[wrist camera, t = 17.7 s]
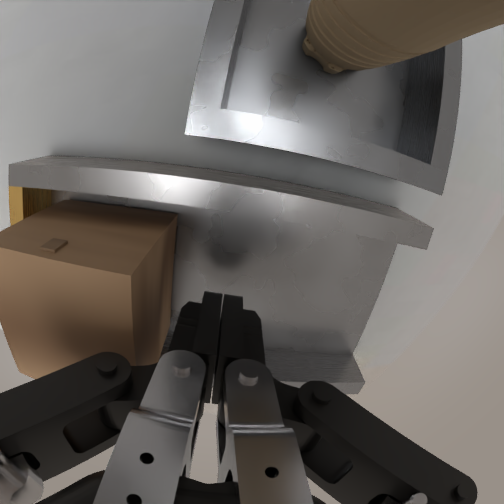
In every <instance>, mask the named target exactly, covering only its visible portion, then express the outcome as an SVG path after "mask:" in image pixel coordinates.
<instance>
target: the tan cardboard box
mask: <svg viewBox="0 0 504 504" xmlns="http://www.w3.org/2000/svg"><path fill="white" fill-rule="evenodd" d="M177 217H178V214H174V213H167V212H160V211H152V210H145V209H138V208H130V207H123V206H115V205H107V204H99V203H91V202H83V201H74V200H63V201H60V202H58V203H56V204H54V205H52V206H50V207H47V208H45V209H43V210H41V211H39V212H37V213H35V214H33V215H31V216H29V217H27V218H25V219H23V220H21V221H19V222H17V223H15V224H14V225H12V226H10V227H8V228H6V229H4V230H3V231H1V232H0V322H1V325H2V328H3V331H4V334H5V337H6V339H7V342H8V345H9V347H10V350H11V352H12V355H13V358H14V360H15V362H16V364H17V367H18V369H19V371H20V372H21V373H23V374H25V375H27V376H29V377H31V378H34V379H38V378H40V377H43V376H45V375H47V374H50V373H52V372H55V371H57V370H59V369H62V368H64V367H67V366H69V365H71V364H74V363H76V362H78V361H81V360H83V359H85V358H88V357H90V356H92V355H95V354H97V353H101V352H114V353H118V354H120V355H122V356H124V357H125V358H126V359H127V360H128V361H129V363H130V365H131V366H143V365H151V364H154V363H157V362H158V361H159V358H160V354H161V351H162V348H163V345H164V342H165V339H166V336H167V333H168V330H169V327H170V316H171V294H172V276H173V262H174V249H175V238H176V227H177Z"/></svg>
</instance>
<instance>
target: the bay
mask: <svg viewBox="0 0 504 504" xmlns="http://www.w3.org/2000/svg"><path fill="white" fill-rule="evenodd" d="M63 200H74V201H83V202H91V203H99V204H107V205H115V206H123V207H130V208H138V209H145V210H152V211H160V212H167V213H174V214H178V217H177V227H176V238H175V249H174V262H173V276H172V294H171V316H170V327H169V330H168V333H167V336H166V339H165V342H164V345H163V348H162V351H161V354H160V358H161V357H162V356H163V355H164V354H165V353H167V352H168V350H169V346H170V343H171V340H172V336H173V333H174V330H175V326H176V323H177V320H178V317H179V314H180V310H181V308H182V307H183V306H184V305H185V304H186V303H188V302H189V301H191V302H197V303H202V299H203V295H204V291H209V292H216V293H222V294H223V297H222V305H223V298H224V294H230V295H237V296H243V309H246V310H253V311H255V312H256V313H257V314H258V316H259V317H260V319H261V325H262V334H263V336H262V337H263V344H264V353H265V363H266V367H267V368H268V369H269V370H270V372H271V373H272V376H273V377H274V378H275V379H276V380H278V381H280V382H282V383H284V384H287V385H290V386H294V387H297V388H300V387H301V386H302V385H303V384H304V383H306V382H309V381H324V382H327V383H329V384H331V385H333V386H335V387H336V388H337V389H339V390H340V391H341V392H343V393H344V394H358V393H359V392H360V390H361V388H362V387H363V385H364V383H365V381H364V379H363V376H362V374H361V372H360V370H359V367H358V365H357V363H356V361H355V359H354V356H353V352H354V350H355V348H356V346H357V344H358V341H359V339H360V337H361V335H362V333H363V330H364V328H365V326H366V324H367V321H368V319H369V317H370V314H371V312H372V310H373V307H374V305H375V302H376V300H377V298H378V295H379V293H380V290H381V287H382V285H383V282H384V280H385V277H386V274H387V271H388V269H389V266H390V263H391V260H392V257H393V254H394V251H395V249H396V245H397V243H399V244H403V245H408V246H412V247H417V248H421V249H426V250H427V247H428V244H429V241H430V238H431V235H432V232H433V229H434V228H432V227H430V226H428V225H427V224H425V223H423V222H421V221H420V220H418V219H416V218H414V217H412V216H411V215H409V214H407V213H405V212H403V211H401V210H399V209H398V208H394V207H391V206H387V205H383V204H379V203H376V202H372V201H368V200H364V199H360V198H356V197H352V196H348V195H343V194H339V193H335V192H331V191H326V190H322V189H317V188H312V187H308V186H303V185H298V184H293V183H288V182H283V181H278V180H272V179H267V178H262V177H256V176H250V175H244V174H238V173H232V172H225V171H219V170H212V169H205V168H198V167H190V166H182V165H174V164H165V163H156V162H146V161H136V160H124V159H111V158H96V157H77V156H45V157H40V158H35V159H30V160H26V161H21V162H17V163H13V164H9V208H10V223H11V226H12V225H14V224H15V223H17V222H19V221H21V220H23V219H25V218H27V217H29V216H31V215H33V214H35V213H37V212H39V211H41V210H43V209H45V208H47V207H50V206H52V205H54V204H56V203H58V202H60V201H63ZM221 311H222V307H221ZM220 318H221V316H220ZM160 358H159V359H160ZM214 371H215V370H214ZM213 382H214V377H213ZM212 387H213V384H212Z"/></svg>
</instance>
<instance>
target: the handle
mask: <svg viewBox="0 0 504 504" xmlns="http://www.w3.org/2000/svg"><path fill="white" fill-rule="evenodd" d="M502 24H504V0H311V2H310V5H309V9H308V12H307V18H306V31H307V35H306V38H305V39H304V41H303V44H302V48H303V51H304V53H305V54H306V55H307V56H311V57H313V58H314V59H316V60H317V61H318V62H319V63H320V64H321V65H322V67H323V70H324V71H326V72H328V73H331V74H336V73H339V72H341V71H343V70H347V69H349V70H356V71H361V70H366V69H373V68H378V67H382V66H386V65H389V64H393V63H397V62H400V61H404V60H407V59H410V58H413V57H416V56H419V55H422V54H425V53H428V52H431V51H434V50H436V49H439V48H441V47H443V46H446V45H448V44H450V43H453V42H455V41H458V40H460V39H463V38H465V37H468V36H470V35H473V34H476V33H478V32H481V31H484V30H487V29H490V28H493V27H495V26H498V25H502Z"/></svg>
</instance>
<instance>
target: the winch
mask: <svg viewBox="0 0 504 504" xmlns="http://www.w3.org/2000/svg"><path fill="white" fill-rule="evenodd" d="M310 2H311V0H215V1H214V4H213V8H212V11H211V15H210V18H209V22H208V26H207V30H206V33H205V37H204V41H203V46H202V50H201V54H200V58H199V63H198V67H197V72H196V76H195V81H194V86H193V91H192V96H191V101H190V106H189V112H188V117H187V123H186V129H185V134H186V135H194V136H202V137H210V138H217V139H224V140H231V141H237V142H243V143H249V144H255V145H261V146H266V147H271V148H276V149H281V150H286V151H291V152H296V153H300V154H305V155H309V156H313V157H318V158H322V159H326V160H330V161H334V162H338V163H342V164H345V165H349V166H353V167H356V168H360V169H363V170H367V171H370V172H374V173H377V174H380V175H384V176H387V177H390V178H393V179H396V180H399V181H402V182H405V183H408V184H411V185H414V186H417V187H420V188H423V189H425V190H428V191H431V192H434V193H436V194H439V195H442V193H443V190H444V185H445V181H446V177H447V173H448V168H449V163H450V158H451V153H452V148H453V142H454V136H455V130H456V123H457V116H458V107H459V98H460V86H461V69H462V39H460V40H458V41H455V42H453V43H450V44H448V45H446V46H443V47H441V48H439V49H436V50H434V51H431V52H428V53H425V54H422V55H419V56H416V57H413V58H410V59H407V60H404V61H400V62H397V63H393V64H389V65H386V66H382V67H378V68H373V69H366V70H361V71H356V70H349V69H347V70H343V71H341V72H339V73H336V74H331V73H328V72H326V71H324V70H323V67H322V65H321V64H320V63H319V62H318V61H317V60H316V59H314V58H313V57H311V56H307V55H306V54H305V53H304V51H303V48H302V44H303V41H304V39H305V38H306V35H307V31H306V18H307V12H308V9H309V5H310Z"/></svg>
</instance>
